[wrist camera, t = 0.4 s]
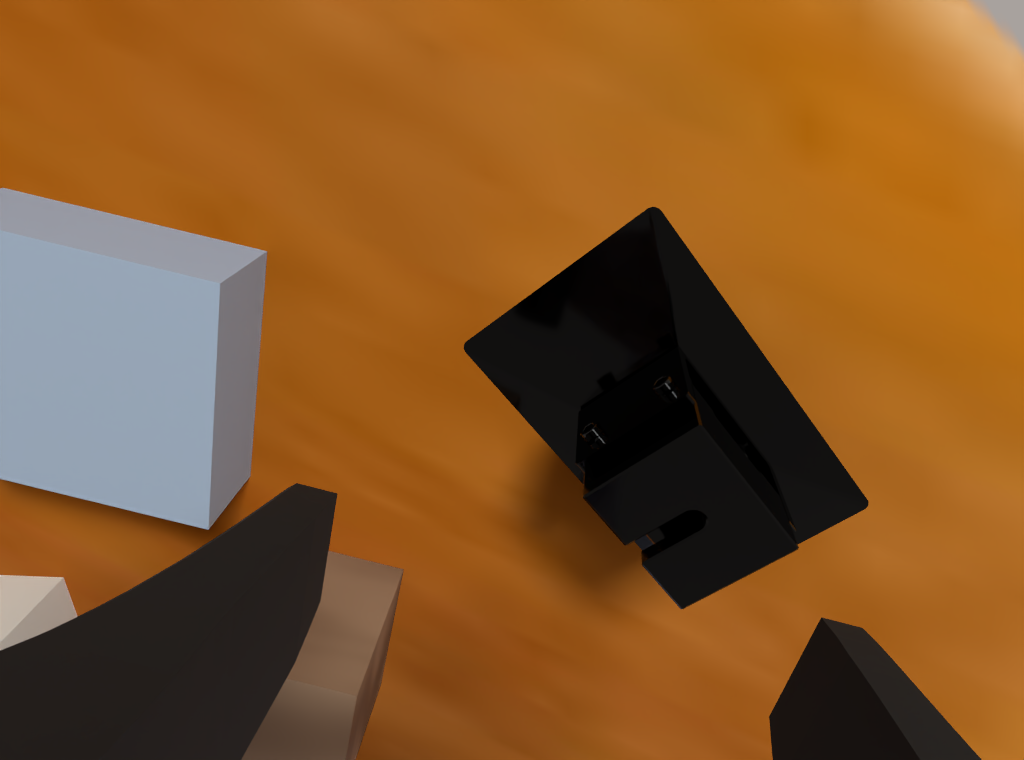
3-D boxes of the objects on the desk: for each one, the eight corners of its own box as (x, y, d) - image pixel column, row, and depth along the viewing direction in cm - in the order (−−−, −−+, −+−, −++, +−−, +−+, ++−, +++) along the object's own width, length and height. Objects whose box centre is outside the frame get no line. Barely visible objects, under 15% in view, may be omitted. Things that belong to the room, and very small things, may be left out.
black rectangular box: (415, 315, 21) (363, 392, 16) (654, 128, 18) (670, 160, 14) (693, 633, 24) (713, 769, 20) (929, 514, 22) (1013, 640, 17)
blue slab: (254, 470, 23) (208, 529, 20) (28, 414, 23) (-47, 467, 21) (272, 248, 20) (220, 283, 17) (11, 185, 20) (-80, 211, 18)
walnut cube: (381, 683, 26) (333, 822, 21) (236, 646, 26) (159, 778, 21) (404, 567, 24) (356, 696, 19) (246, 528, 24) (162, 647, 19)
